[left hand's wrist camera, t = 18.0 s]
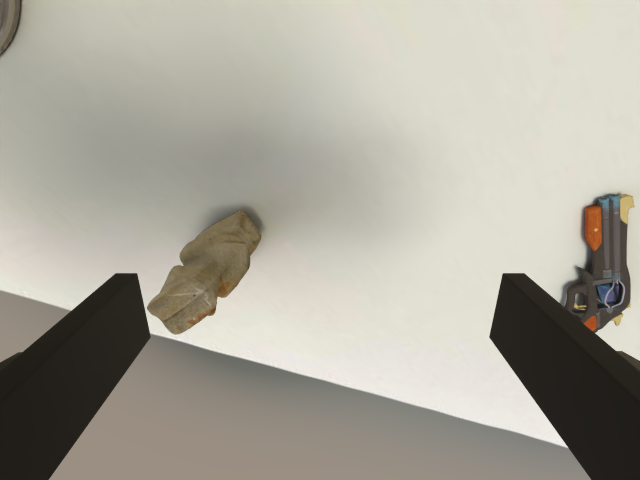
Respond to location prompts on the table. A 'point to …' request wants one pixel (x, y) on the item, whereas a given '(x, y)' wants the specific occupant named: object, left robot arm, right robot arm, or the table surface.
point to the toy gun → (604, 264)
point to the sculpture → (206, 272)
